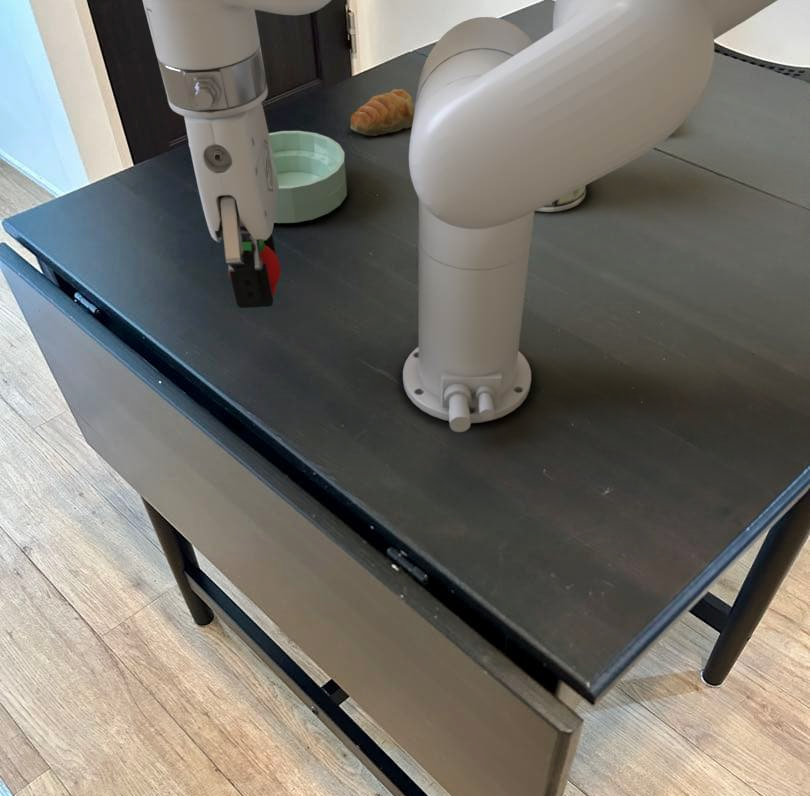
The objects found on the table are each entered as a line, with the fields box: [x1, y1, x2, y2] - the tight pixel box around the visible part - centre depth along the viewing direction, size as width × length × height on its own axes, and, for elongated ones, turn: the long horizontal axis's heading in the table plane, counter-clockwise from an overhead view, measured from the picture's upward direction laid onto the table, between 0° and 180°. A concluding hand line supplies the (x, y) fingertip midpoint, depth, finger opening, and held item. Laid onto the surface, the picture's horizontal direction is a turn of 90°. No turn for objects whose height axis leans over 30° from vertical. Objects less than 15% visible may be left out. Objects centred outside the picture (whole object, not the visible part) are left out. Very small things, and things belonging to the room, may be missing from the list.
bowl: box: [268, 130, 348, 224], centre depth 103 cm, size 14×14×5 cm
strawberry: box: [228, 239, 281, 296], centre depth 74 cm, size 5×5×5 cm
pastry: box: [349, 88, 415, 137], centre depth 115 cm, size 9×7×4 cm
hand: (258, 286), depth 76 cm, fingers closed on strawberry, 4 cm apart
